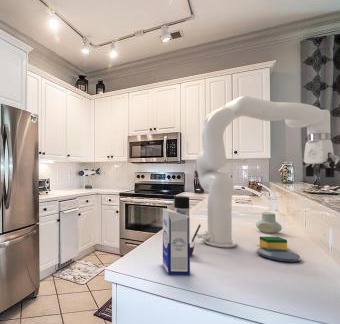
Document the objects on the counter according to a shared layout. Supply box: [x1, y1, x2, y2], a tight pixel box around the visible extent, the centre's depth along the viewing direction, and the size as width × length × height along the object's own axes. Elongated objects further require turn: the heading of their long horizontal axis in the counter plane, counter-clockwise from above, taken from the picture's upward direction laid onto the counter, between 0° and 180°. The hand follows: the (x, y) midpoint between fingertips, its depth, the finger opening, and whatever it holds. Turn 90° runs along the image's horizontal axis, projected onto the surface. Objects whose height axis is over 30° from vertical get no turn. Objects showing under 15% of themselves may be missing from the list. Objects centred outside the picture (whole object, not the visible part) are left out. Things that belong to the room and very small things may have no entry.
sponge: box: [259, 236, 288, 251], centre depth 105 cm, size 8×5×4 cm, turn 89°
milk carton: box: [162, 207, 191, 276], centre depth 82 cm, size 7×7×20 cm
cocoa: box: [190, 223, 201, 256], centre depth 96 cm, size 10×6×12 cm, turn 49°
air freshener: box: [255, 211, 283, 234], centre depth 131 cm, size 11×8×10 cm
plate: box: [256, 247, 301, 263], centre depth 94 cm, size 13×13×2 cm
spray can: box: [173, 195, 190, 217], centre depth 116 cm, size 7×7×20 cm
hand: (319, 176), depth 110 cm, fingers open, 9 cm apart
